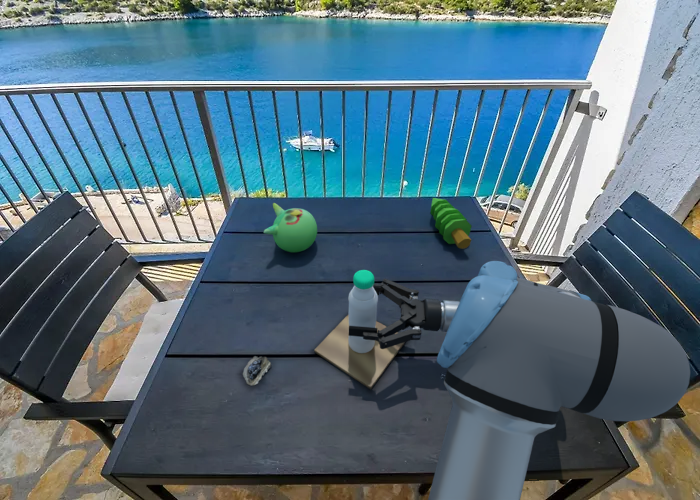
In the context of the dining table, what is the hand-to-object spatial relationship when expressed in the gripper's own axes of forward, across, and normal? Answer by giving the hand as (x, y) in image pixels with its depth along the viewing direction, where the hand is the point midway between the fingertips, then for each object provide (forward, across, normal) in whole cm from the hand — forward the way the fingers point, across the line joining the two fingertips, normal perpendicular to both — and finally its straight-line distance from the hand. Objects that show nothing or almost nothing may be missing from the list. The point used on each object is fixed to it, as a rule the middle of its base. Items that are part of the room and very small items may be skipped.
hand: (351, 308), depth 85 cm
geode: (+23, -10, -15) cm, 29 cm away
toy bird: (+25, +42, -15) cm, 51 cm away
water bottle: (-3, 0, -14) cm, 14 cm away
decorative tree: (-32, +57, -15) cm, 67 cm away
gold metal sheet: (-3, 0, -15) cm, 15 cm away
